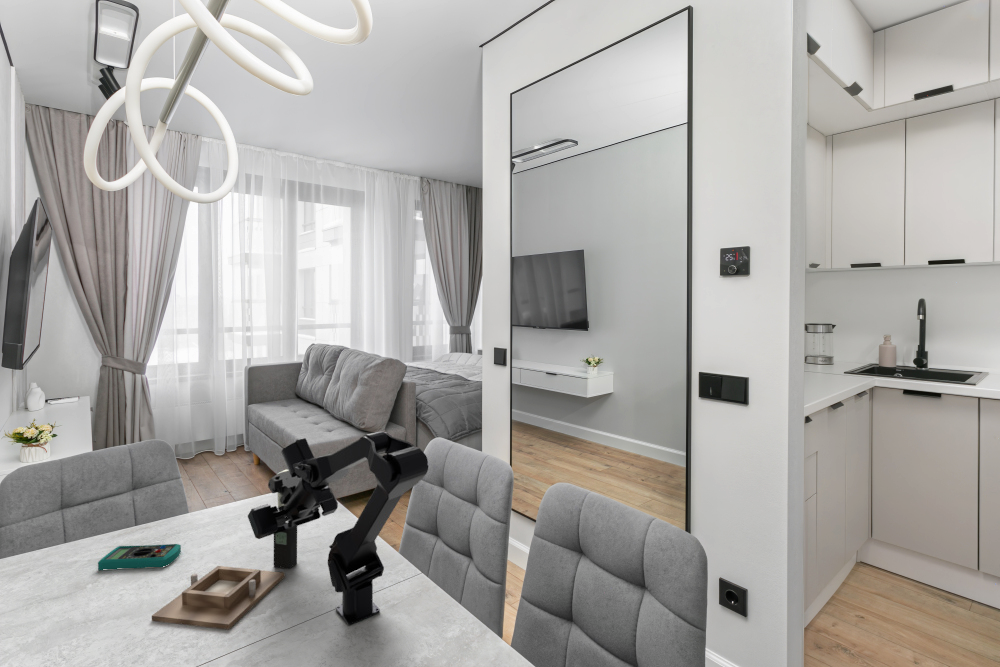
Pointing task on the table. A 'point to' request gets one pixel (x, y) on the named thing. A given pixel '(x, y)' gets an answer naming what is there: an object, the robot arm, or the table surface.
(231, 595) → the wooden frame board
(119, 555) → the digital multimeter
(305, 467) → the robot arm
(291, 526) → the walkie-talkie
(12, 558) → the table surface
